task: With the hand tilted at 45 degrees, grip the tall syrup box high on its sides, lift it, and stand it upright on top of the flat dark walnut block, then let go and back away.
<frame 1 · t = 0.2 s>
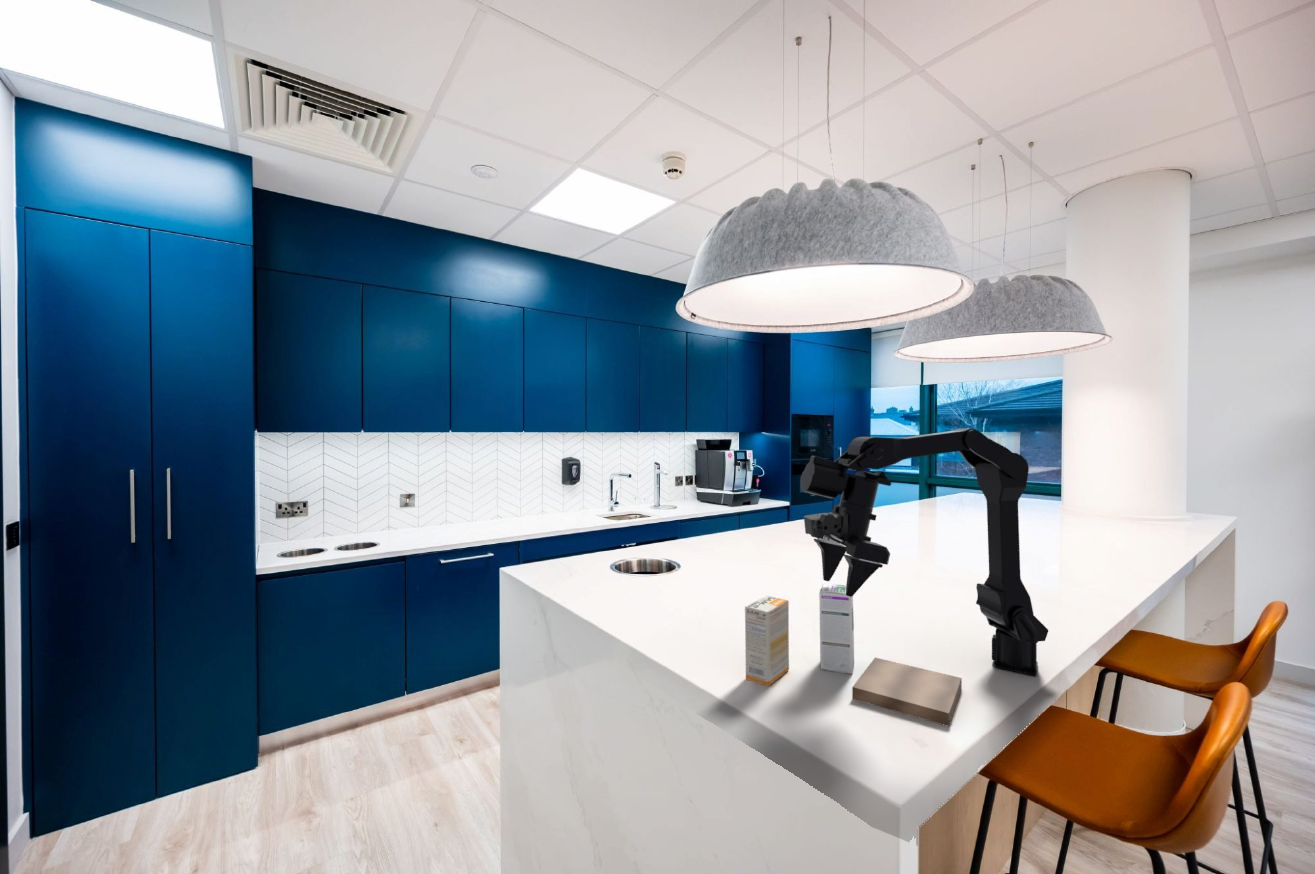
hand: (837, 587, 98), 15 cm above the table, tool pointing down, fingers open, 9 cm apart
syrup box: (837, 666, 100), on the table
supplement box: (767, 675, 97), on the table
walnut block: (907, 697, 90), on the table
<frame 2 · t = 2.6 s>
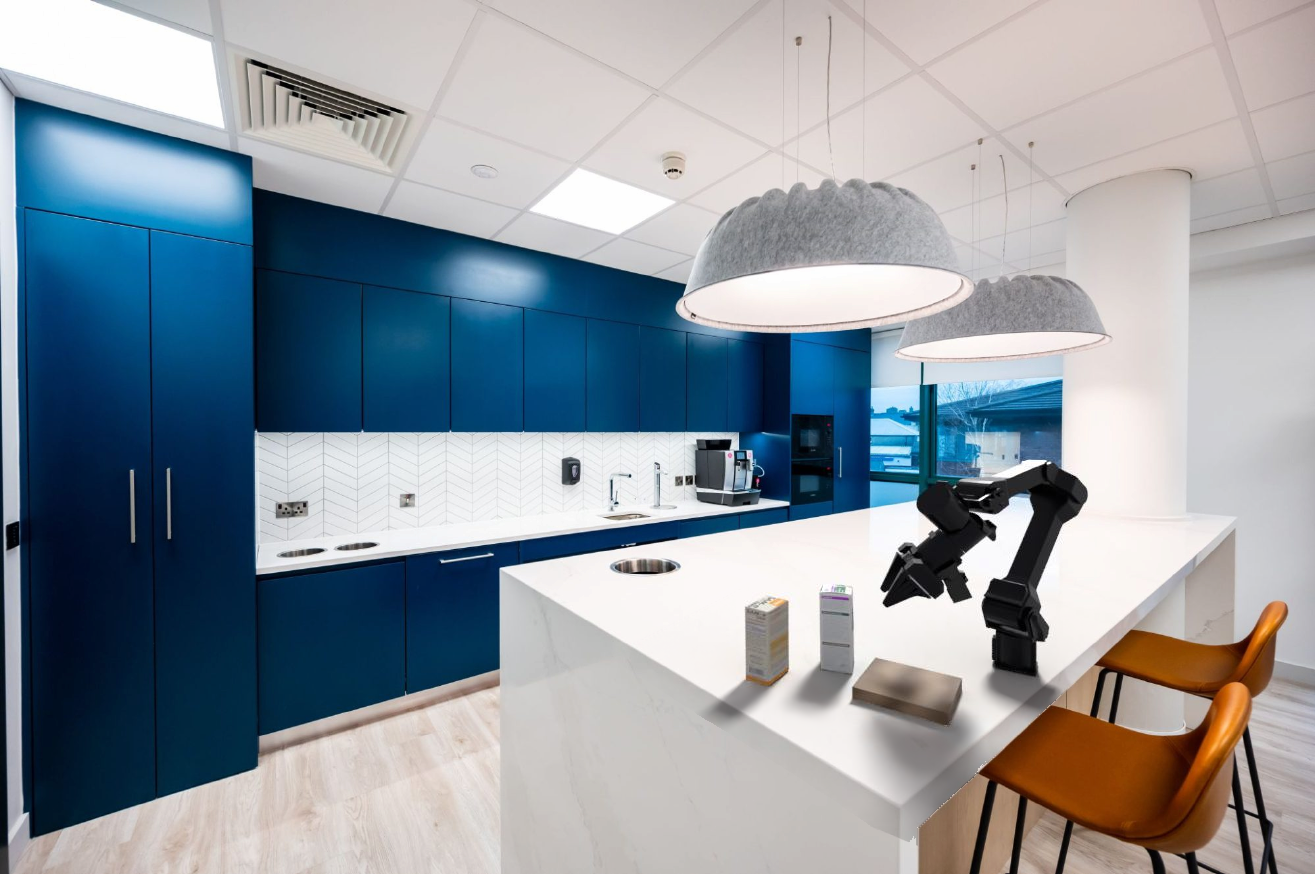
hand: (883, 597, 98), 14 cm above the table, tool tilted 45°, fingers open, 9 cm apart
nothing on the table moved.
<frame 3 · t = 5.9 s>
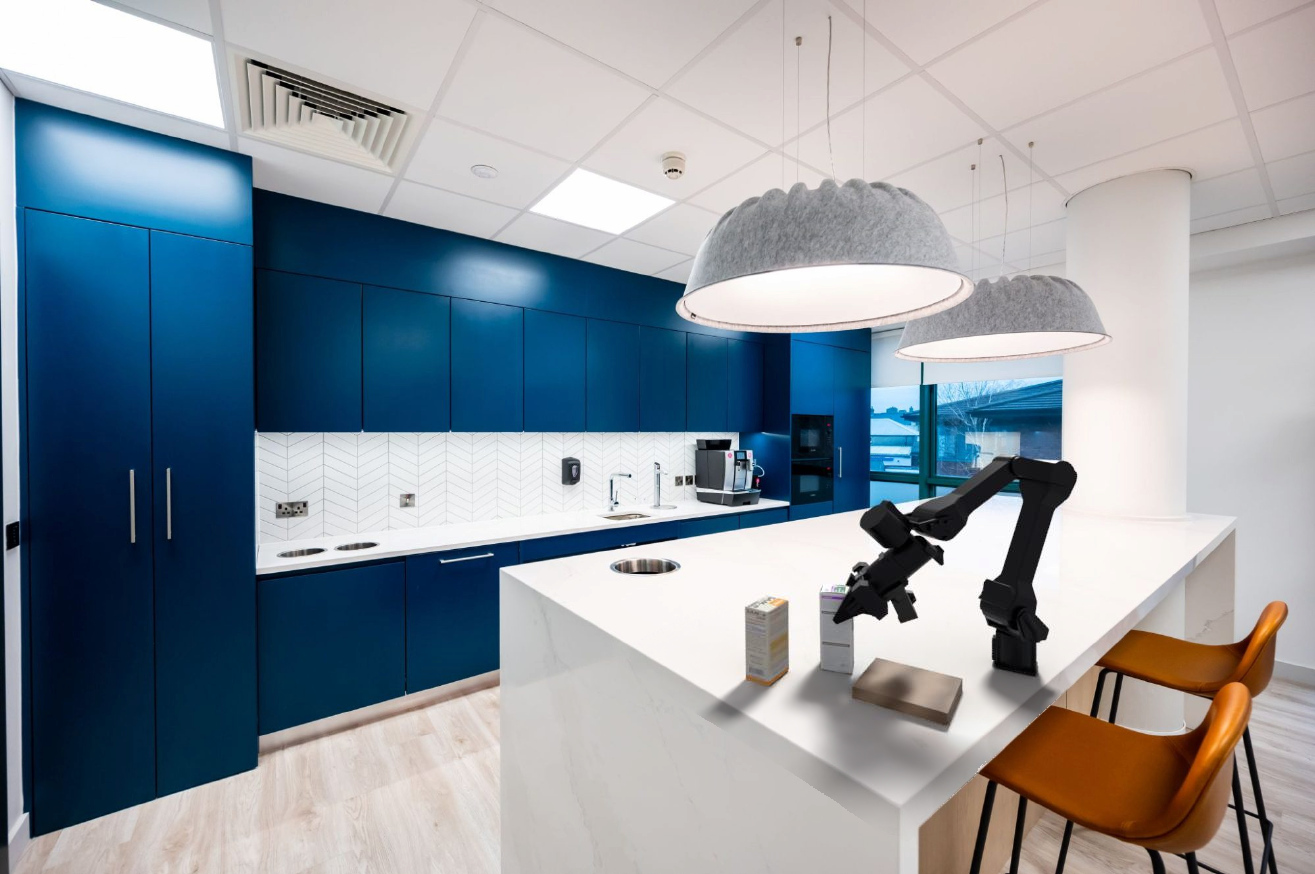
hand: (834, 616, 101), 9 cm above the table, tool tilted 45°, fingers closed on syrup box, 6 cm apart
syrup box: (837, 666, 100), on the table, touching gripper
everything else where it was.
when the fingers open (12 cm above the table, at t = 10.4 s): syrup box drops 1 cm, point 1 cm above the table.
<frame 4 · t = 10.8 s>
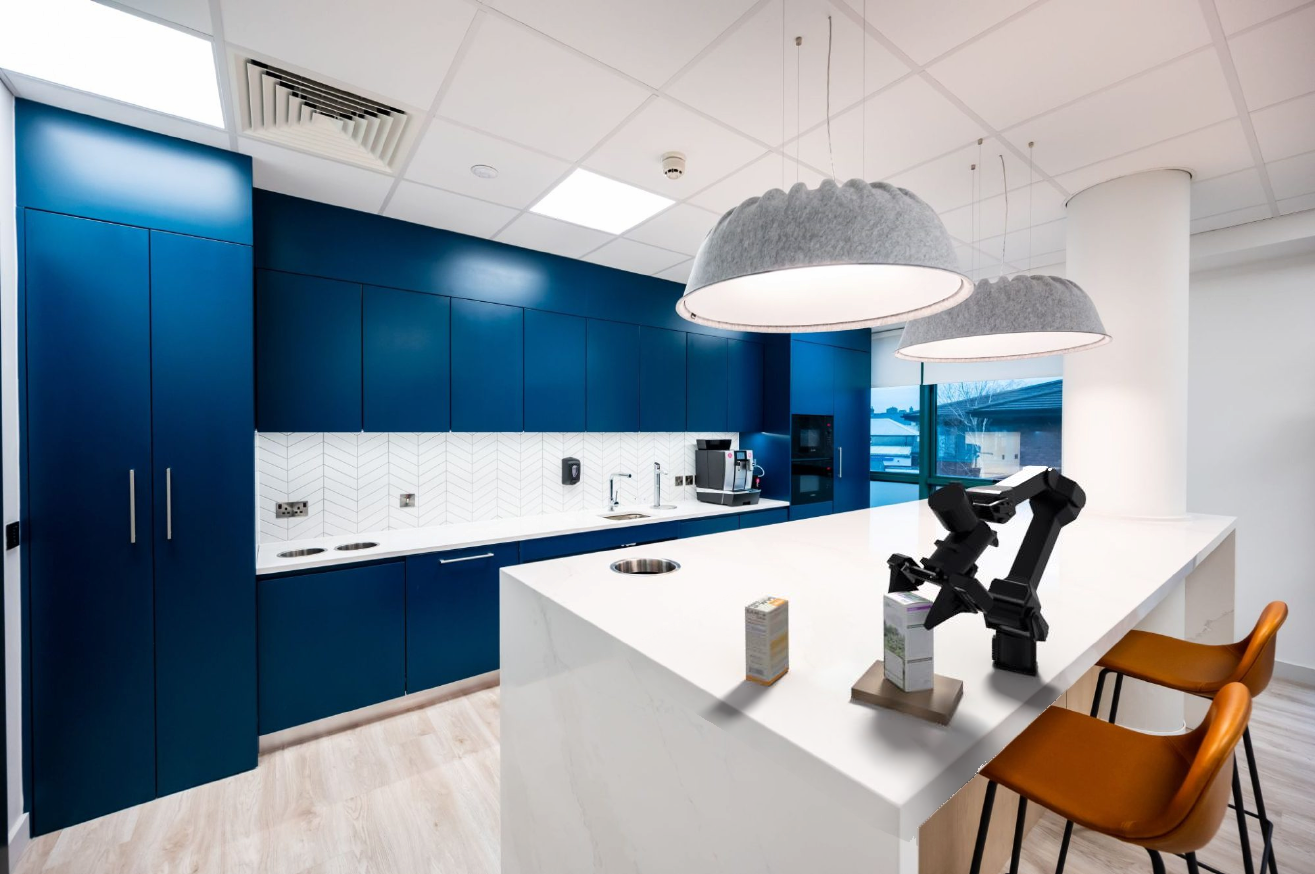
hand: (905, 618, 89), 13 cm above the table, tool tilted 45°, fingers open, 9 cm apart
syrup box: (907, 684, 90), point 1 cm above the table
everything else where it was.
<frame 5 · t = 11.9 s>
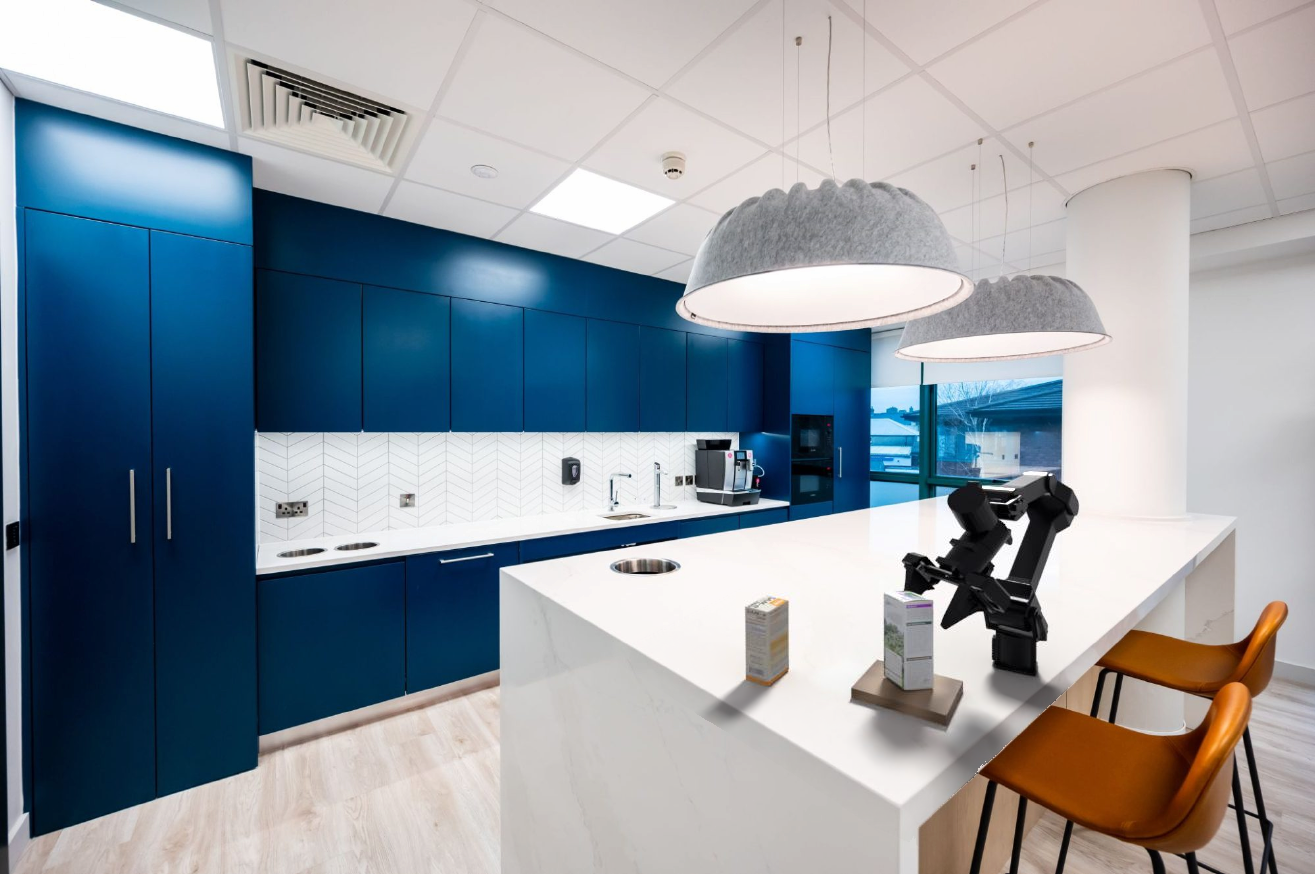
hand: (922, 617, 90), 13 cm above the table, tool tilted 45°, fingers open, 9 cm apart
syrup box: (907, 683, 90), point 2 cm above the table, touching walnut block
walnut block: (907, 699, 90), on the table, touching syrup box
everything else where it was.
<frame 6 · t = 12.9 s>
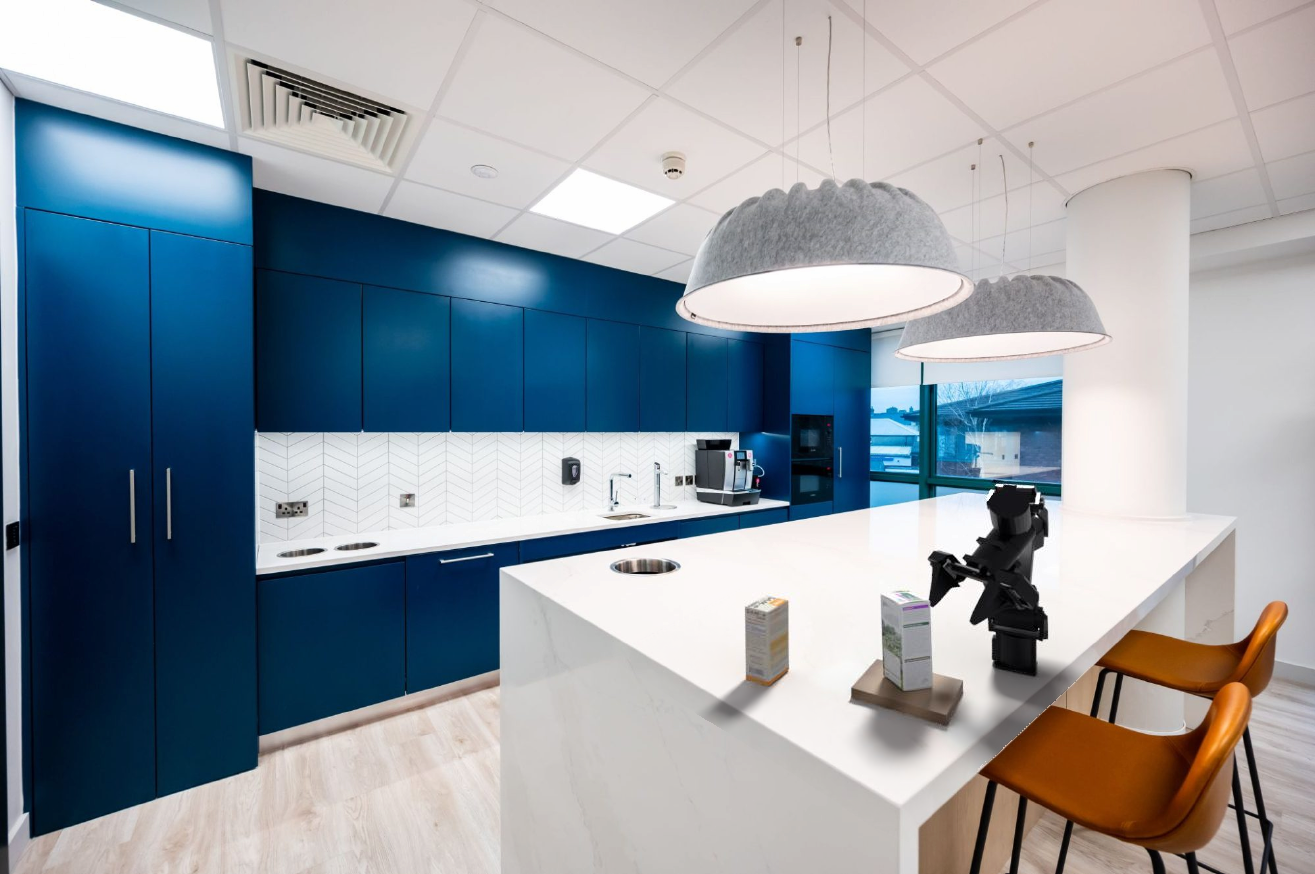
hand: (950, 614, 92), 13 cm above the table, tool tilted 45°, fingers open, 9 cm apart
syrup box: (907, 682, 90), point 2 cm above the table
walnut block: (907, 698, 90), on the table
everything else where it was.
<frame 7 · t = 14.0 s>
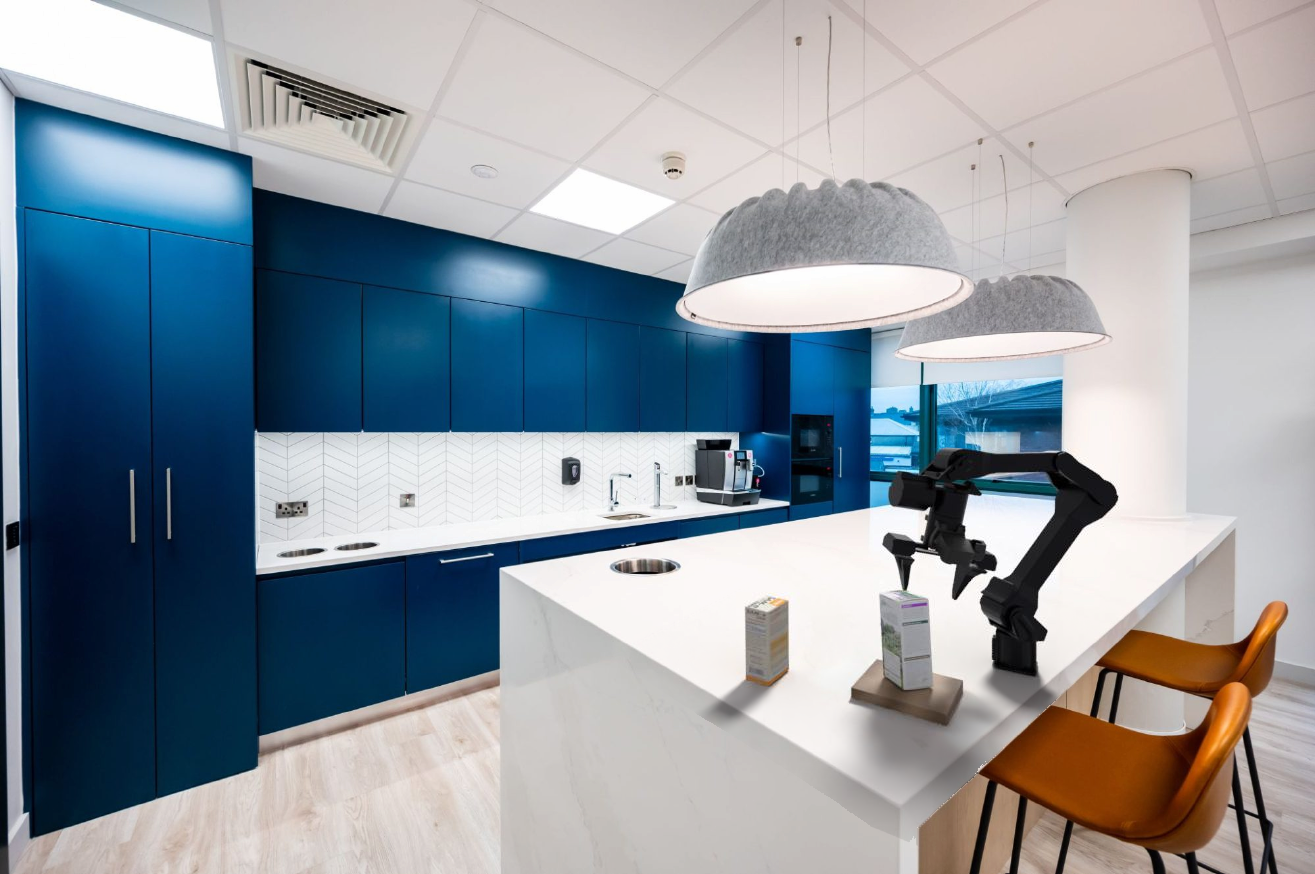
hand: (929, 594, 102), 13 cm above the table, tool pointing down, fingers open, 9 cm apart
syrup box: (907, 683, 90), point 2 cm above the table, touching walnut block
walnut block: (907, 698, 90), on the table, touching syrup box
everything else where it was.
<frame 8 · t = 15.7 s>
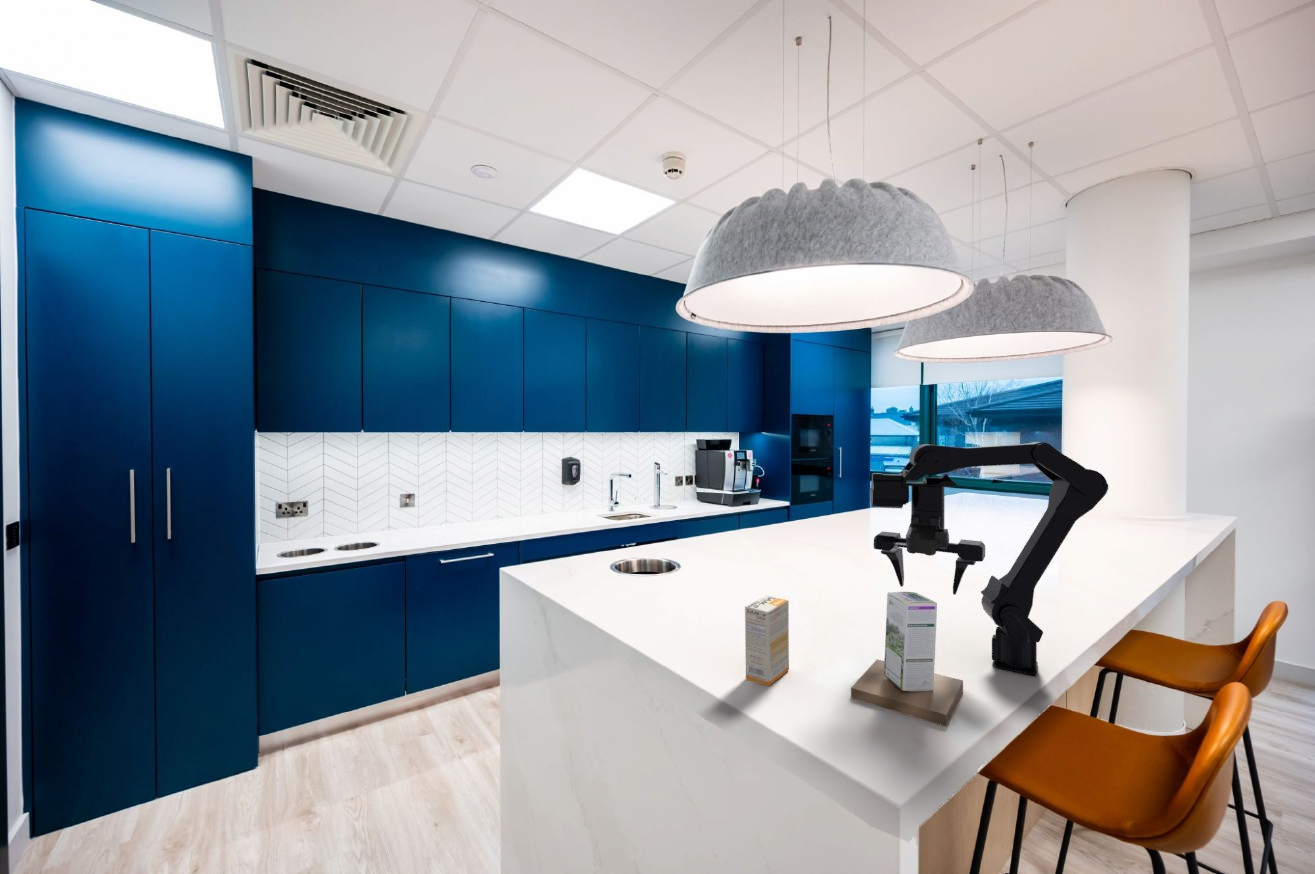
hand: (927, 589, 104), 13 cm above the table, tool pointing down, fingers open, 9 cm apart
at the end: syrup box inside the target area on the walnut block (0.2 cm from its centre), point 2.4 cm above the walnut block's base; syrup box tilted 3°; the gripper is holding nothing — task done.
